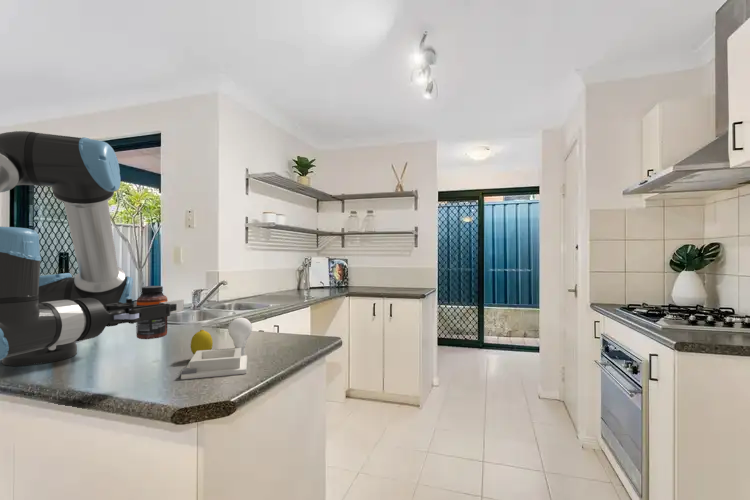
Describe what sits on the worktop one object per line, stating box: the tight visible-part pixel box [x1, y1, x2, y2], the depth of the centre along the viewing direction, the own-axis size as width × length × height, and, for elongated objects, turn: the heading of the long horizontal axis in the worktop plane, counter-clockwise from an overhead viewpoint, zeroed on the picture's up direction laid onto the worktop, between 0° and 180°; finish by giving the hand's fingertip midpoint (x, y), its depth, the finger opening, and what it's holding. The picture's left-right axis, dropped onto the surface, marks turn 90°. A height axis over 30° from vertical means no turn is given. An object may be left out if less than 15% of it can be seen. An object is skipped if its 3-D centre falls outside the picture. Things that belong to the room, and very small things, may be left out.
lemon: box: [190, 329, 214, 355], centre depth 100 cm, size 6×6×8 cm
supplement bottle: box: [135, 285, 168, 340], centre depth 81 cm, size 6×6×11 cm
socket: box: [180, 347, 248, 380], centre depth 91 cm, size 14×14×4 cm
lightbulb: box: [227, 317, 253, 356], centre depth 102 cm, size 6×6×11 cm
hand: (169, 304), depth 86 cm, fingers closed on supplement bottle, 6 cm apart
